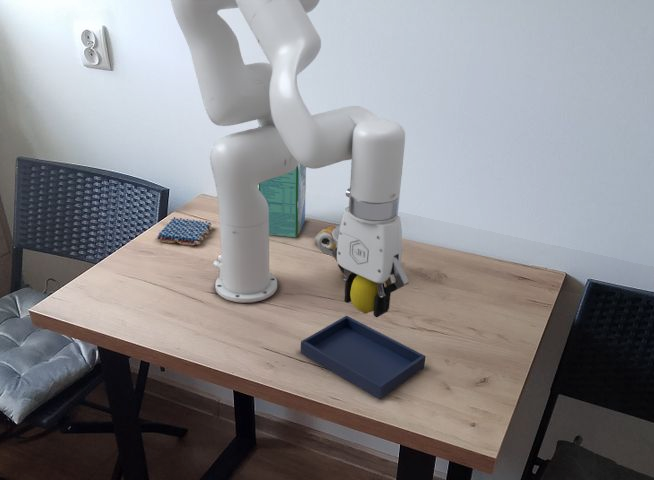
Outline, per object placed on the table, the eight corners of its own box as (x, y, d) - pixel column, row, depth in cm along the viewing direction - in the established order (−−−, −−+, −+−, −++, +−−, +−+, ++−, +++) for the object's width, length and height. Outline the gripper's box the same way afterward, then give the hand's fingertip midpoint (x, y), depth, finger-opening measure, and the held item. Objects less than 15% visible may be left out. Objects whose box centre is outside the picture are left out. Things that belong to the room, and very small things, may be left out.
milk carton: (297, 238, 163) (298, 130, 148) (259, 233, 164) (257, 126, 150) (305, 221, 170) (307, 117, 155) (268, 217, 171) (267, 114, 157)
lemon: (344, 317, 117) (347, 275, 112) (355, 302, 121) (358, 260, 116) (376, 325, 115) (380, 282, 110) (386, 308, 119) (390, 267, 115)
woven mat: (214, 228, 166) (214, 220, 165) (198, 248, 157) (198, 240, 156) (173, 223, 168) (172, 215, 167) (155, 242, 159) (154, 234, 158)
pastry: (341, 231, 166) (342, 216, 164) (362, 241, 162) (363, 226, 160) (312, 243, 160) (313, 228, 158) (333, 254, 156) (333, 238, 154)
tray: (300, 353, 125) (300, 341, 124) (345, 326, 132) (346, 315, 131) (379, 399, 115) (381, 386, 113) (424, 368, 122) (425, 356, 121)
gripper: (315, 195, 109) (313, 295, 120) (403, 230, 100) (392, 335, 110) (347, 183, 114) (342, 280, 124) (434, 214, 104) (421, 317, 115)
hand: (366, 305), depth 117 cm, fingers closed on lemon, 5 cm apart
